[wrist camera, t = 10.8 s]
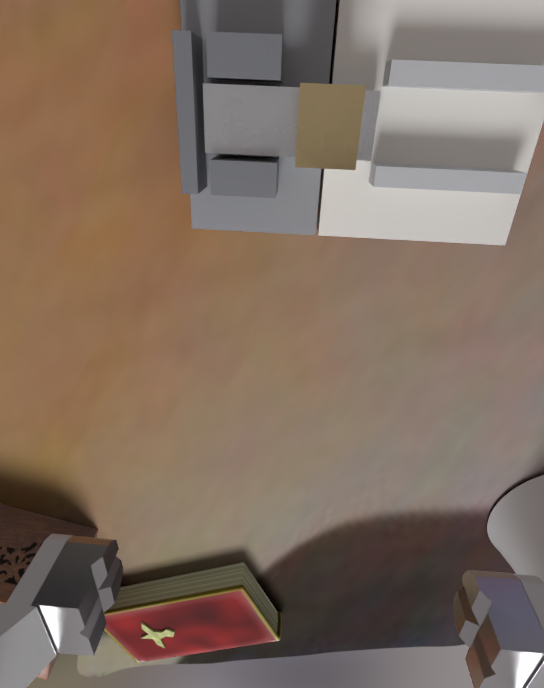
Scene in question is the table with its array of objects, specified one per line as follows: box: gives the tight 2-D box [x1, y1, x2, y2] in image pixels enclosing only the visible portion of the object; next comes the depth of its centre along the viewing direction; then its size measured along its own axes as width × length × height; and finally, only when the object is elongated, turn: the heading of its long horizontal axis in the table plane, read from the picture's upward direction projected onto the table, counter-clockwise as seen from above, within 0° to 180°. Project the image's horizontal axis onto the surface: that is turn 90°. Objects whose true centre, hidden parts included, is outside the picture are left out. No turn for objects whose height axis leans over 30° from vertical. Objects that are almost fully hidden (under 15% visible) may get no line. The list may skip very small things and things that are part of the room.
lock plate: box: [172, 0, 544, 245], centre depth 26 cm, size 22×14×5 cm, turn 88°
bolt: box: [203, 83, 381, 170], centre depth 23 cm, size 10×4×7 cm, turn 88°
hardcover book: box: [104, 562, 281, 662], centre depth 55 cm, size 12×21×4 cm, turn 112°
